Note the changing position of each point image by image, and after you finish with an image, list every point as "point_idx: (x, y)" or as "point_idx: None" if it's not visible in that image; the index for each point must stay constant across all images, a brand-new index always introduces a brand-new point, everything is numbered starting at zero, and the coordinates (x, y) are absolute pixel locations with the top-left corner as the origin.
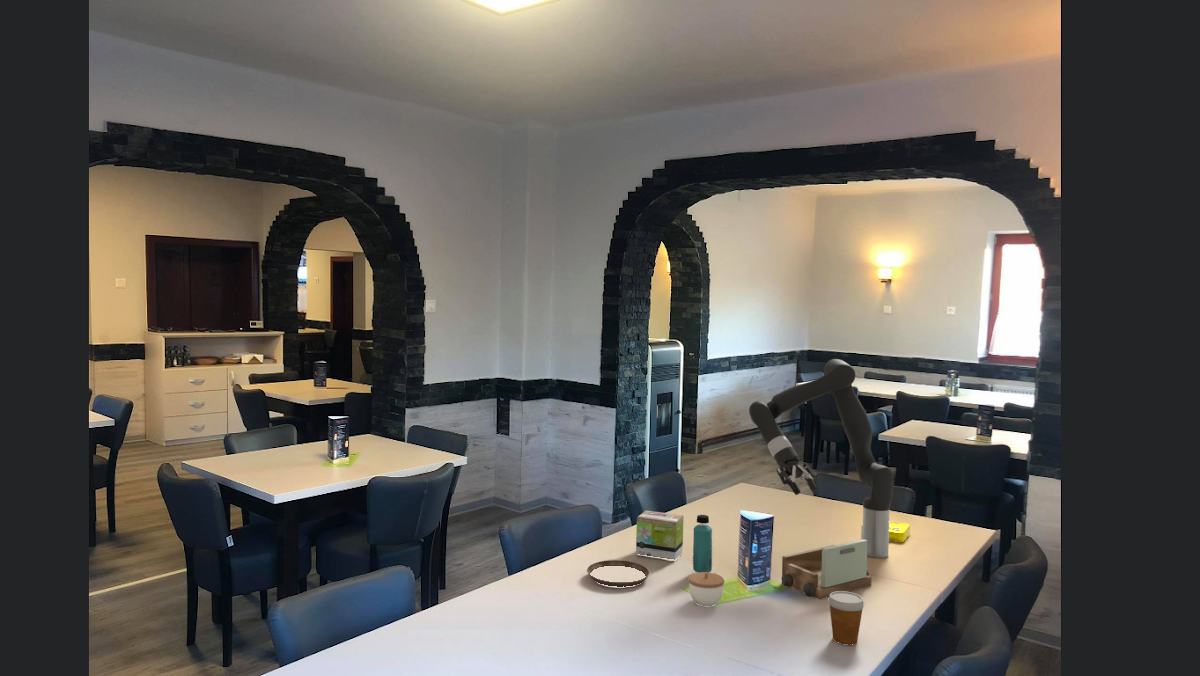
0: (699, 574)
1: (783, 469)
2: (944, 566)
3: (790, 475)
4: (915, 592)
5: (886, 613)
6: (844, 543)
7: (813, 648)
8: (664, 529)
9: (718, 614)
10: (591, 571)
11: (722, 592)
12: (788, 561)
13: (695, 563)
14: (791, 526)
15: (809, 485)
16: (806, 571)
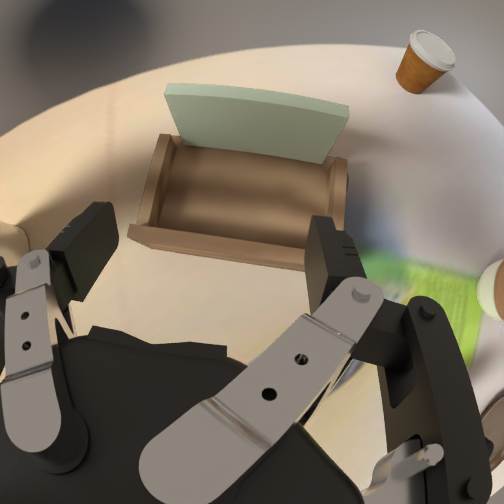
0: None
1: (460, 451)
2: (10, 144)
3: (331, 382)
4: (149, 89)
5: (282, 72)
6: (251, 98)
7: (452, 103)
8: None
9: (494, 246)
10: (498, 457)
11: (492, 264)
12: None
13: None
14: None
15: (91, 273)
16: (343, 186)
